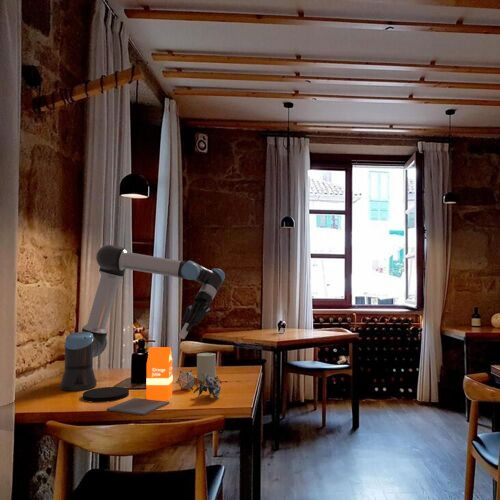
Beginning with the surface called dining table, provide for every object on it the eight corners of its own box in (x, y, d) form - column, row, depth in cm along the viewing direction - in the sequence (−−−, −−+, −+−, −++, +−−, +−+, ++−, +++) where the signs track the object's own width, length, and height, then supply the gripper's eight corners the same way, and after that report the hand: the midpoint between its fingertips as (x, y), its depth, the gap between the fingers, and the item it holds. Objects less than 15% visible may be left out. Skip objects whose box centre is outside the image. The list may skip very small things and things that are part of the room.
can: (219, 378, 213) (219, 352, 214) (208, 381, 205) (208, 355, 206) (204, 376, 218) (204, 351, 219) (192, 379, 210) (192, 353, 211)
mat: (107, 410, 161) (107, 408, 161) (134, 399, 175) (134, 397, 175) (144, 415, 154) (144, 413, 154) (169, 403, 169) (169, 401, 169)
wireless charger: (72, 400, 176) (72, 395, 176) (104, 390, 192) (104, 385, 192) (108, 405, 169) (108, 399, 169) (137, 394, 185) (137, 389, 185)
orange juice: (168, 400, 173) (168, 348, 175) (145, 400, 173) (146, 348, 175) (172, 395, 181) (172, 345, 182) (150, 395, 181) (151, 345, 183)
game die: (188, 399, 189) (191, 383, 184) (171, 391, 191) (173, 375, 185) (198, 385, 196) (201, 369, 191) (181, 377, 198) (183, 361, 193)
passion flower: (217, 412, 175) (221, 391, 169) (189, 408, 175) (193, 387, 169) (219, 390, 185) (224, 370, 179) (194, 386, 184) (197, 365, 178)
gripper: (220, 301, 204) (197, 343, 189) (198, 301, 211) (174, 341, 196) (213, 290, 200) (189, 331, 185) (190, 290, 207) (165, 330, 192)
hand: (181, 336), depth 190 cm, fingers closed
